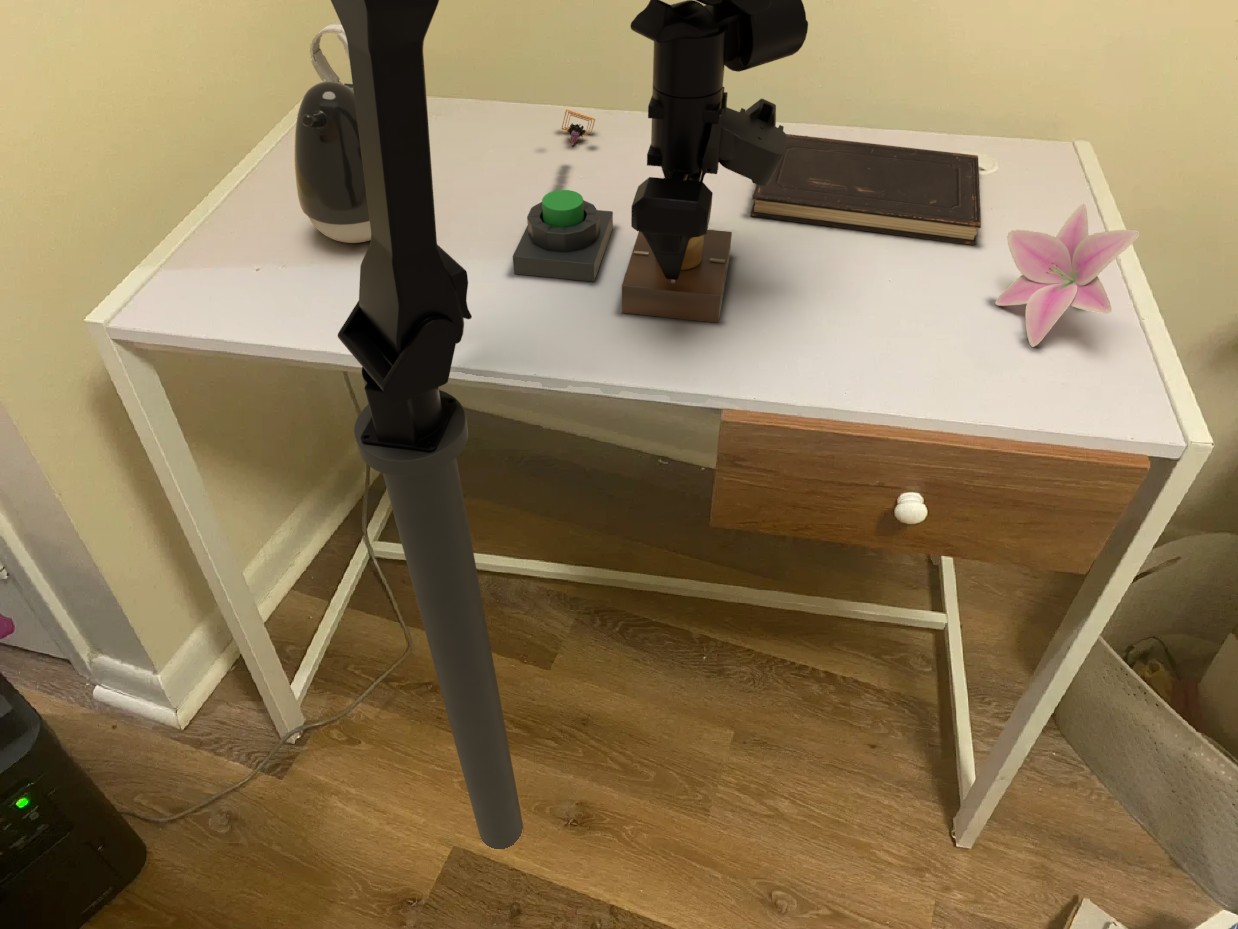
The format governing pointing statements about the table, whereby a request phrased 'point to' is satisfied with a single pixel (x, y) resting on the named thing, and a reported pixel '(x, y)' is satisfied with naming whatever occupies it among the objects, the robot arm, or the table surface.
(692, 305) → the panel
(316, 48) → the watch
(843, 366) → the table surface
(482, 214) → the table surface
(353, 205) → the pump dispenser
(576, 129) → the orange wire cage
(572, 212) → the button
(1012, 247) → the lily
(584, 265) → the button base
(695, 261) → the dial
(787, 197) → the hardcover book
